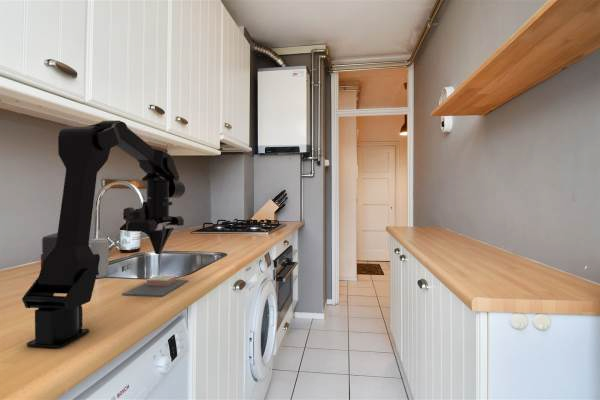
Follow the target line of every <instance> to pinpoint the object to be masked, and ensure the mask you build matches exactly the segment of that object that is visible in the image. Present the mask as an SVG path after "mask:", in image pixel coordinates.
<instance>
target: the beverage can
mask: <svg viewBox="0 0 600 400" xmlns="http://www.w3.org/2000/svg"><path fill="white" fill-rule="evenodd" d="M89 247H90V249H91V251H92V253H93V254H99V256H100V261H99V265H98V272H99V275H96V279H103V278H106V277H108V275H109V272H110V271H109V266H110V265H109V239H108V237H106V238H104V237H102V238H101V237H100V238H92V239H90V241H89Z"/></svg>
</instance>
